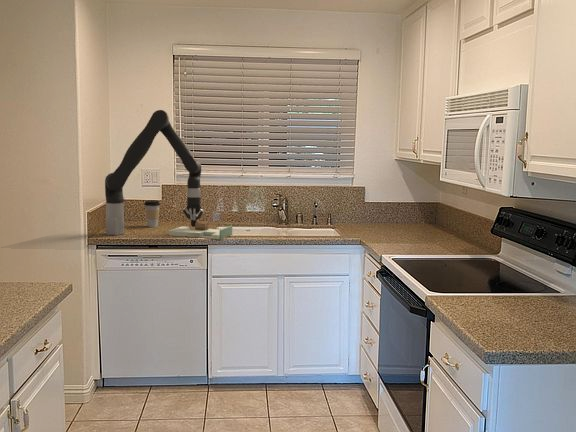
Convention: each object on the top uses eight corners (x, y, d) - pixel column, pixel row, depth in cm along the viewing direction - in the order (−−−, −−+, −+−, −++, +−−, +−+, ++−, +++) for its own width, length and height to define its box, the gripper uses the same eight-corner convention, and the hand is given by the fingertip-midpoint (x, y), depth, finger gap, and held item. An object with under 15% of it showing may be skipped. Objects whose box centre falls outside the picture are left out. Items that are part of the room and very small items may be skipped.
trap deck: (221, 239, 315) (221, 230, 315) (168, 235, 324) (168, 226, 323) (232, 234, 331) (232, 225, 330) (181, 230, 339) (181, 222, 338)
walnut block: (204, 230, 327) (205, 223, 326) (195, 230, 328) (195, 222, 328) (209, 229, 333) (209, 222, 332) (199, 228, 334) (199, 221, 334)
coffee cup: (161, 227, 348) (161, 202, 346) (145, 228, 345) (145, 202, 342) (159, 224, 357) (158, 200, 355) (143, 225, 353) (142, 200, 351)
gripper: (180, 196, 328) (180, 226, 331) (201, 197, 324) (201, 228, 327) (185, 194, 335) (186, 224, 338) (207, 196, 332) (207, 226, 334)
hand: (193, 226), depth 332 cm, fingers closed
